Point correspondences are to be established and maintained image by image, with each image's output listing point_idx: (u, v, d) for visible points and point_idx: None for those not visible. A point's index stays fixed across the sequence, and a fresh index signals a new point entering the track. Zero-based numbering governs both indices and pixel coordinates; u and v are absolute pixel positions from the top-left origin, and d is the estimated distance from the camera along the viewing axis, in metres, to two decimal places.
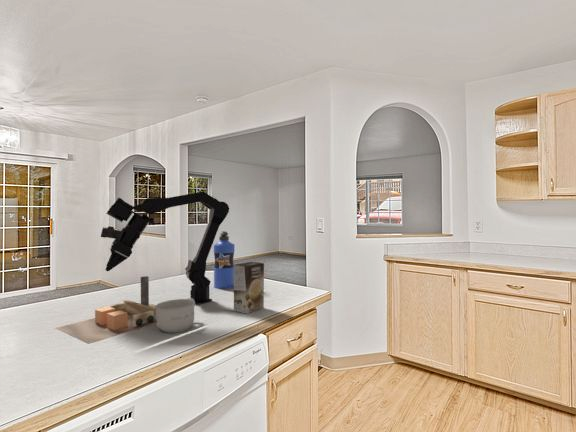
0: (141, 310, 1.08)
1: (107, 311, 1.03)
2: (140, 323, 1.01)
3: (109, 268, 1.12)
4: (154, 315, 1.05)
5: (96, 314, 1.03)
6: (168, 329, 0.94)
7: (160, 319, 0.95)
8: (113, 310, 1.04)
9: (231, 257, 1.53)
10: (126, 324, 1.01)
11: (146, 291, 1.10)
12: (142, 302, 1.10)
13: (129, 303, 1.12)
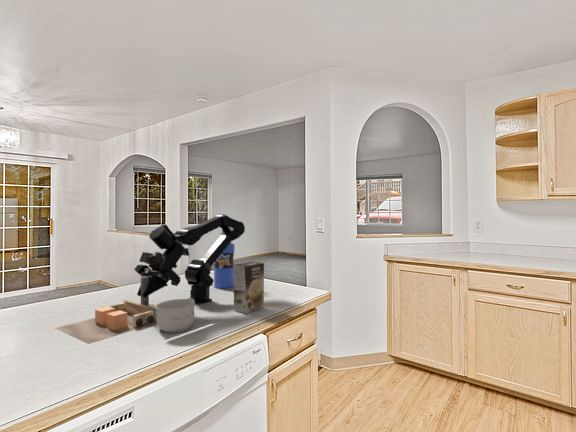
0: (141, 310, 1.08)
1: (107, 311, 1.03)
2: (140, 323, 1.01)
3: (146, 294, 1.10)
4: (154, 315, 1.05)
5: (96, 314, 1.03)
6: (168, 329, 0.94)
7: (160, 319, 0.95)
8: (113, 310, 1.04)
9: (231, 257, 1.53)
10: (126, 324, 1.01)
11: None
12: (142, 302, 1.10)
13: (129, 303, 1.12)
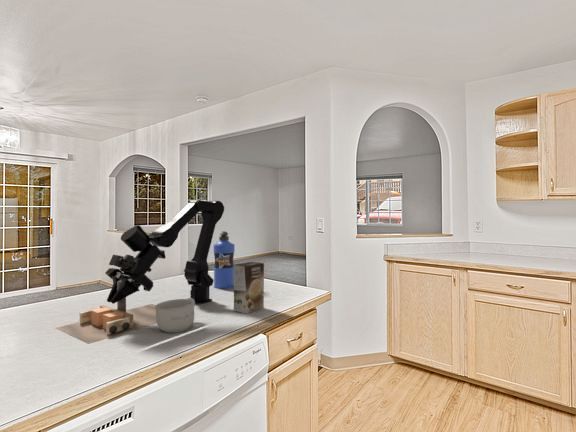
0: None
1: (103, 312, 1.02)
2: (114, 331, 0.94)
3: (116, 300, 1.02)
4: (130, 322, 0.98)
5: (92, 315, 1.02)
6: (168, 329, 0.94)
7: (160, 319, 0.95)
8: (109, 311, 1.03)
9: (231, 257, 1.53)
10: None
11: None
12: (118, 307, 1.04)
13: None
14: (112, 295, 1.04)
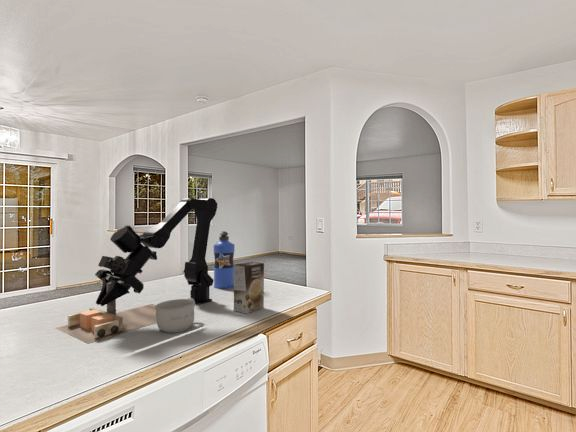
0: None
1: (92, 315, 0.99)
2: (102, 334, 0.92)
3: (105, 302, 0.99)
4: (119, 325, 0.96)
5: (81, 318, 1.00)
6: (168, 329, 0.94)
7: (160, 319, 0.95)
8: (99, 314, 1.01)
9: (231, 257, 1.53)
10: None
11: None
12: (108, 310, 1.01)
13: None
14: (101, 297, 1.01)
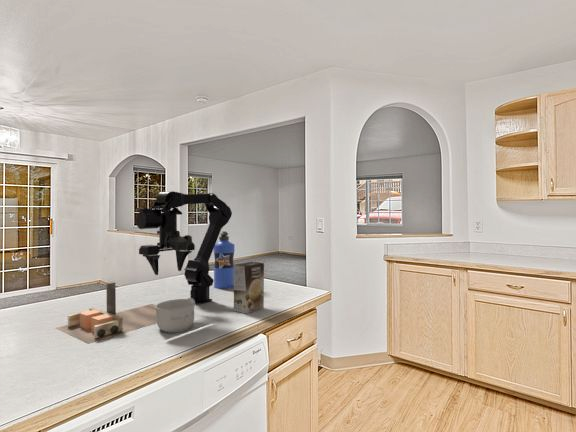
0: None
1: (92, 315, 0.99)
2: (102, 334, 0.92)
3: None
4: (119, 325, 0.96)
5: (81, 318, 1.00)
6: (168, 329, 0.94)
7: (160, 319, 0.95)
8: (98, 314, 1.01)
9: (231, 257, 1.53)
10: None
11: (112, 298, 1.02)
12: (108, 310, 1.01)
13: None
14: None
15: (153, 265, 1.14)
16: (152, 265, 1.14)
